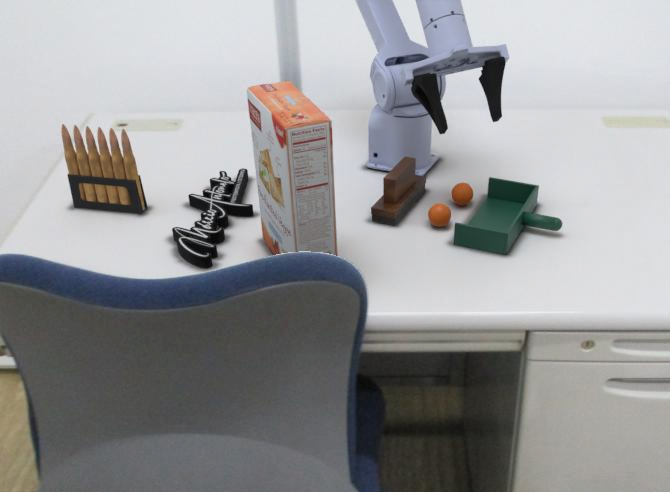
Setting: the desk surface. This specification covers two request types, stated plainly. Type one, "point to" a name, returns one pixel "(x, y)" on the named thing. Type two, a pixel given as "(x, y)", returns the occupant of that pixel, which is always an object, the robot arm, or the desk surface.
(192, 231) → the nameplate
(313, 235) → the cracker box
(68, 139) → the ammunition clip
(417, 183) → the brush
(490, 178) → the dustpan
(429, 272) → the desk surface
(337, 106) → the desk surface
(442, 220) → the small orange ball
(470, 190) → the orange ball
